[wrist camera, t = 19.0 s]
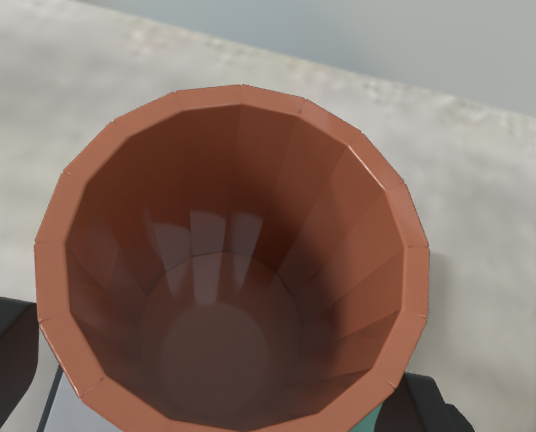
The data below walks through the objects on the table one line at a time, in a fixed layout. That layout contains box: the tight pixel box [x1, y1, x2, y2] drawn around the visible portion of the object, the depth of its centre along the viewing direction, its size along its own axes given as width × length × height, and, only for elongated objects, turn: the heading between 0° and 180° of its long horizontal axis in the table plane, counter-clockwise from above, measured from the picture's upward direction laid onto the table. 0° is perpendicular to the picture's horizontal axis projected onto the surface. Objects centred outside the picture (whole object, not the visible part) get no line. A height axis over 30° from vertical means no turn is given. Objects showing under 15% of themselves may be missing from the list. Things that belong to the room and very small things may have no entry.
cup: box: [34, 84, 430, 432], centre depth 13 cm, size 7×7×10 cm
